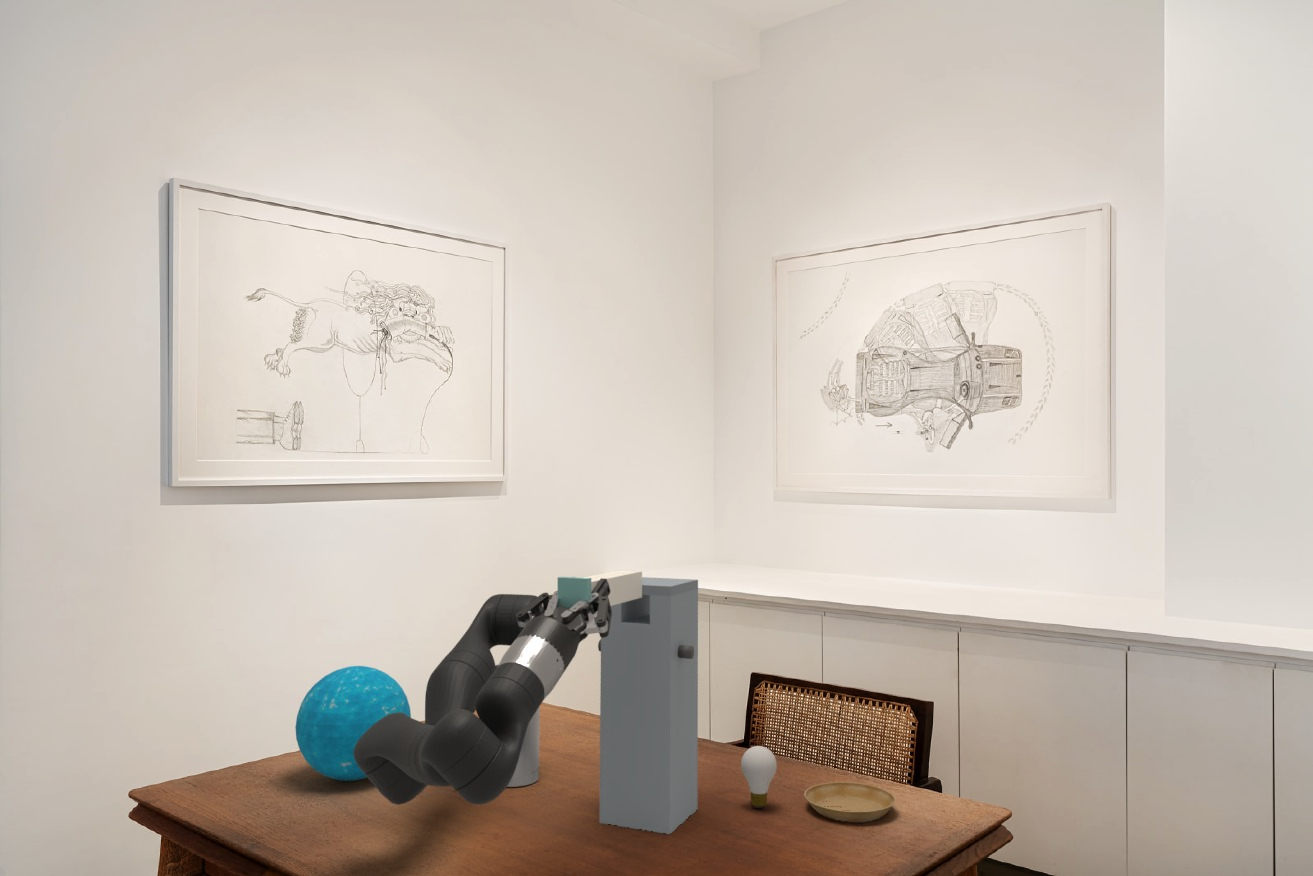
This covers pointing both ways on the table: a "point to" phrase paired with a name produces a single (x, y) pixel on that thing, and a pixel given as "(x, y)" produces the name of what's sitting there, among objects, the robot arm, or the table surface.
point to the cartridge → (576, 588)
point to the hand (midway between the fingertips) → (590, 583)
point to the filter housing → (650, 708)
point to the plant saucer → (850, 801)
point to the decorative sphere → (344, 717)
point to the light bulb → (758, 772)
